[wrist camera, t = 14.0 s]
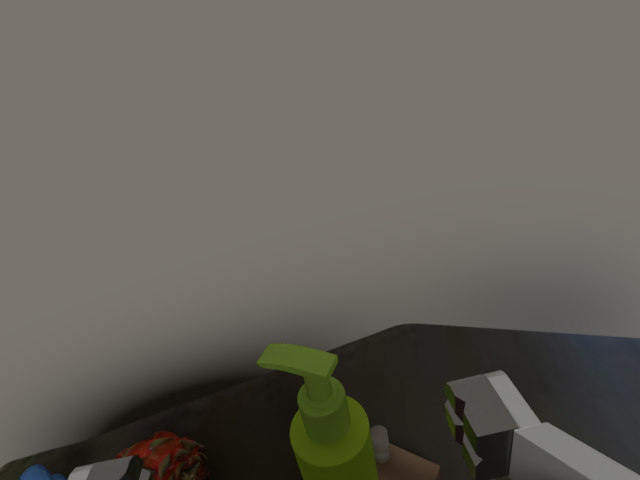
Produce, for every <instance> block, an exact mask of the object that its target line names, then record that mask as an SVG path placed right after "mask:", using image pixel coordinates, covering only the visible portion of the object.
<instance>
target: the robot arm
mask: <svg viewBox="0 0 640 480" xmlns="http://www.w3.org/2000/svg"><path fill="white" fill-rule="evenodd" d="M445 394H446V396H447V398H448V400H447V402H446V403H445V413H446V417H447V421H448V425H449V427H450V430H451V432H452V434H453V437H454V439H455V441H457V442H458V443H460V444H461V445H463V458H464V460H465V462H466V464H467V466H468V468H469V470H470V472H471V475H472V477H473V479H474V480H489V479H493V478H498V477H503V476H508V475H509V478H510V479H511V480H640V475H638V474H636V473H635V472H633V471H631V470H629V469H628V468H626V467H624V466H622V465H621V464H619V463H617V462H615V461H614V460H612V459H610V458H608V457H607V456H605V455H603V454H602V453H600V452H598V451H596V450H595V449H593V448H591V447H589V446H588V445H586V444H584V443H582V442H581V441H579V440H577V439H575V438H574V437H572V436H570V435H568V434H567V433H565V432H563V431H562V430H560V429H558V428H556V427H555V426H553V425H551V424H549V423H548V422H546V423H541V422H540V421H539V419H538V418H537V417H536V415H535V414H534V412H533V411H532V410H531V408H530V407H529V405H528V404H527V403H526V401H525V400H524V398H523V397H522V396H521V394H520V393H519V392H518V390H517V389H516V387H515V386H514V385H513V383H512V382H511V380H510V379H509V378H508V376H507V375H506V373H504V372H503V371H501V370H500V371H495V372H491V373H487V374H483V375H481V374H480V375H476V376H472V377H468V378H464V379H460V380H456V381H452V382H448V383H446V384H445ZM143 463H144V461H143V460H142V459H141V457H140V456H139V455H138V454H137V455H132V456H128V457H123V458H118V459H113V460H108V461H103V462H99V463H93V464H89V465H85V466H80V467H76V468H75V469H74V470H73V471H72V473H71V474H70V475H69V478H68V480H155V479H154V477H153V475H152V474H151V472H150V471H147V470H145V469H142V467H143Z"/></svg>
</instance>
